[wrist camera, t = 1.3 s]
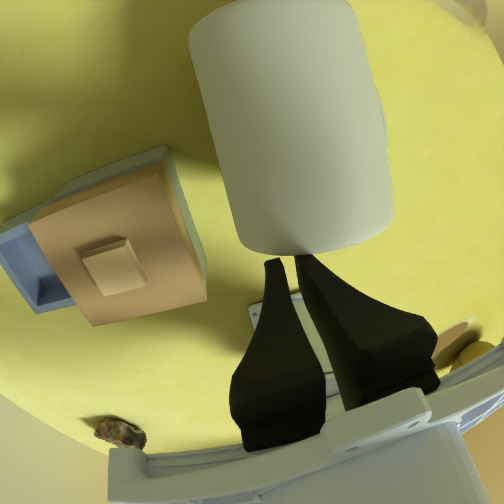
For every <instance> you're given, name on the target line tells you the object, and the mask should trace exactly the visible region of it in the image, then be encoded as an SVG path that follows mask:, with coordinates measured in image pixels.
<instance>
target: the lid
mask: <svg viewBox="0 0 504 504" xmlns="http://www.w3.org/2000/svg"><path fill="white" fill-rule="evenodd" d="M28 226H29V228H30V230H31V232H32V234H33V236H34V237H35V239H36V241H37V243H38V244H39V246H40V248H41V250H42V251H43V253H44V255H45V256H46V258H47V260H48V261H49V263H50V265H51V266H52V268H53V269H54V271H55V273H56V274H57V276H58V277H59V279H60V280H61V282H62V283H63V285H64V286H65V288H66V289H67V291H68V292H69V294H70V295H71V297H72V298H73V300H74V301H75V303H76V304H77V305H78V307H79V308H80V310H81V311H82V312H83V314H84V315H85V317H86V318H87V319H88V321H89V322H90V323H91V325H92V326H93V327H94V326H98V325H103V324H108V323H113V322H117V321H122V320H127V319H131V318H136V317H140V316H145V315H149V314H154V313H158V312H162V311H167V310H171V309H175V308H180V307H184V306H188V305H192V304H196V303H201V302H205V301H207V288H206V277H205V274H204V272H203V269H202V267H201V264H200V262H199V259H198V256H197V254H196V251H195V248H194V246H193V243H192V240H191V238H190V235H189V232H188V230H187V227H186V224H185V222H184V219H183V216H182V213H181V211H180V208H179V205H178V202H177V199H176V197H175V194H174V191H173V188H172V185H171V182H170V179H169V177H168V174H167V171H166V168H165V165H164V162H163V161H162V162H158V163H155V164H152V165H149V166H146V167H143V168H140V169H137V170H134V171H132V172H129V173H126V174H123V175H120V176H117V177H115V178H112V179H109V180H107V181H104V182H101V183H99V184H96V185H94V186H91V187H88V188H86V189H83V190H81V191H79V192H76V193H74V194H71V195H69V196H66V197H64V198H62V199H59V200H57V201H55V202H53V203H50V204H48V205H46V206H44V207H42V208H41V209H40V211H39V212H38V213H37V214H36V215H35V217H34V218H33V219H32V220H31V221H30V223H29V224H28Z"/></svg>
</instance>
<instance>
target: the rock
mask: <svg viewBox="0 0 504 504" xmlns="http://www.w3.org/2000/svg"><path fill="white" fill-rule="evenodd" d="M94 436H95V437H97V438H99V439H102V440H105V441H106V442H110V443H112V444H114V445H116V446H118V447H119V448H137V449H140V450H143V448H144V446H145V443H146V442H147V439H146V434H145V432H144V431H142V430H140V429H137V428H135V427H134V426H130V425H128V424H127V423H124V422H123V421H121V420H113V419H111V418H107V419H105V420H104V421H103V422H102V423H100V424H99V425H98V427H97V428H96V430H95V432H94Z"/></svg>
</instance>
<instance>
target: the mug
mask: <svg viewBox="0 0 504 504" xmlns="http://www.w3.org/2000/svg"><path fill="white" fill-rule="evenodd" d="M188 46H189V52H190V56H191V60H192V63H193V67H194V70H195V74H196V77H197V81H198V84H199V88H200V92H201V96H202V99H203V103H204V107H205V111H206V115H207V119H208V123H209V127H210V131H211V134H212V138H213V142H214V146H215V150H216V154H217V158H218V162H219V166H220V170H221V173H222V177H223V181H224V185H225V189H226V193H227V197H228V200H229V204H230V208H231V212H232V216H233V220H234V223H235V227H236V231H237V234H238V237H239V239H240V241H241V243H242V244H243V245H244V246H245V247H247V248H248V249H250V250H252V251H255V252H258V253H262V254H268V255H279V256H296V255H309V254H318V253H324V252H329V251H334V250H338V249H343V248H346V247H350V246H353V245H356V244H359V243H361V242H364V241H366V240H368V239H371V238H373V237H375V236H376V235H378V234H380V233H381V232H383V231H384V230H385V229H386V228H387V227H388V226H389V225H390V224H391V222H392V220H393V216H394V201H393V191H392V183H391V174H390V167H389V160H388V153H387V145H388V140H387V126H386V120H385V114H384V110H383V106H382V102H381V99H380V96H379V93H378V91H377V89H376V87H375V85H374V81H373V77H372V73H371V69H370V65H369V61H368V57H367V53H366V49H365V45H364V42H363V38H362V34H361V30H360V27H359V24H358V21H357V17H356V15H355V12H354V10H353V8H352V7H351V5H350V4H349V3H348V2H347V1H346V0H236V1H233V2H230V3H228V4H226V5H223V6H221V7H219V8H217V9H216V10H214V11H212V12H210V13H209V14H207V15H206V16H204V17H203V18H202V19H201V20H199V21H198V22H197V23H196V24H195V25H194V26H193V28H192V29H191V31H190V33H189V36H188Z"/></svg>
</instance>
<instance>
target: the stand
mask: <svg viewBox="0 0 504 504" xmlns="http://www.w3.org/2000/svg"><path fill="white" fill-rule="evenodd" d="M162 161H163V162H164V165H165V168H166V171H167V174H168V177H169V179H170V182H171V185H172V188H173V191H174V194H175V197H176V199H177V202H178V205H179V208H180V211H181V213H182V216H183V219H184V222H185V224H186V227H187V230H188V232H189V235H190V238H191V240H192V243H193V246H194V248H195V251H196V254H197V256H198V259H199V262H200V264H201V267H202V269H203V272H204V274H205V277H206V281H207V273H206V256H205V254H204V251H203V248H202V245H201V242H200V240H199V237H198V234H197V231H196V228H195V226H194V223H193V220H192V217H191V214H190V211H189V208H188V206H187V203H186V200H185V197H184V194H183V191H182V188H181V185H180V182H179V179H178V176H177V173H176V170H175V167H174V164H173V161H172V158H171V155H170V152H169V148H168V145H163V146H160V147H157V148H154V149H151V150H148V151H145V152H142V153H139V154H137V155H134V156H131V157H128V158H125V159H123V160H120V161H117V162H114V163H112V164H109V165H107V166H104V167H101V168H99V169H96V170H94V171H91V172H89V173H87V174H84V175H82V176H79V177H77V178H75V179H72V180H70V181H68V182H67V183H66V184H65V185H64V186H63V187H62V188H61V189H60V190H59V191H58V193H57V194H56V195H55V196H54V197H53V198H52V200H53V202H55V201H57V200H59V199H62V198H64V197H66V196H69V195H71V194H74V193H76V192H79V191H81V190H83V189H86V188H88V187H91V186H94V185H96V184H99V183H101V182H104V181H107V180H109V179H112V178H115V177H117V176H120V175H123V174H126V173H129V172H132V171H134V170H137V169H140V168H143V167H146V166H149V165H152V164H155V163H158V162H162Z"/></svg>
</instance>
